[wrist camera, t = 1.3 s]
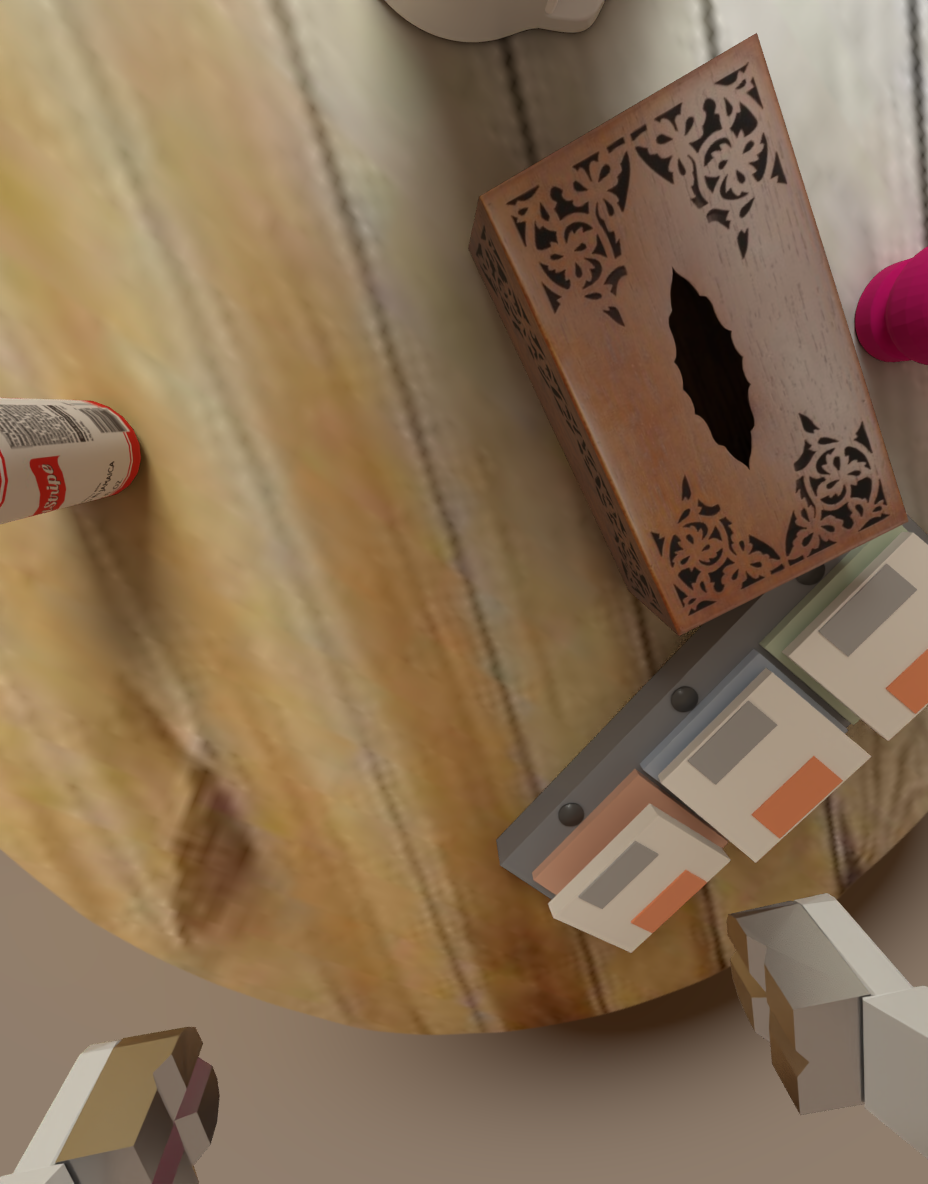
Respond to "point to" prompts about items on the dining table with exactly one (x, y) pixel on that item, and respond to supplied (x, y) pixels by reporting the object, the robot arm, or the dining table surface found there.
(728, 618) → the gray rocker switch panel
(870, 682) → the cream two-patch switch cover
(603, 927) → the cream patched switch plate
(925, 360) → the pepper mill
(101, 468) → the beer can
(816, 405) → the tissue box cover
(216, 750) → the dining table surface
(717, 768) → the cream rectangular plate
